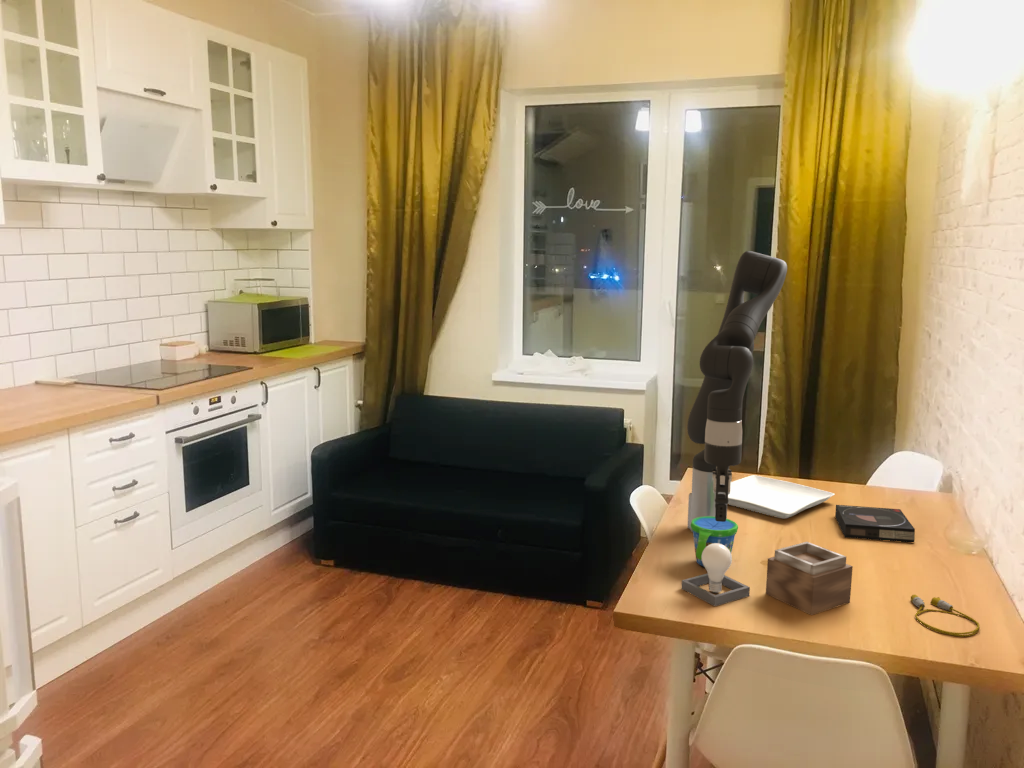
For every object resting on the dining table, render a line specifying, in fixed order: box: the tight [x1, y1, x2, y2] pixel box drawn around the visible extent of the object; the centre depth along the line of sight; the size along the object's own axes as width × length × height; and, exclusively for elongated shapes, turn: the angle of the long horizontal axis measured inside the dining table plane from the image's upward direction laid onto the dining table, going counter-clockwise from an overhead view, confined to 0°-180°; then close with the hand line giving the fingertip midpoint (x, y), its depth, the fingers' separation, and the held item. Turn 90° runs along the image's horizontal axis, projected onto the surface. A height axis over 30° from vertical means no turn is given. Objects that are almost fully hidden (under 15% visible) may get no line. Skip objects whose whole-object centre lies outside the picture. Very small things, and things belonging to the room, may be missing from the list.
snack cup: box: [691, 516, 739, 568], centre depth 190 cm, size 16×10×10 cm
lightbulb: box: [701, 543, 733, 594], centre depth 174 cm, size 6×6×11 cm
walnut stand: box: [765, 541, 853, 616], centre depth 172 cm, size 12×12×10 cm
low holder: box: [680, 573, 751, 607], centre depth 175 cm, size 10×10×2 cm
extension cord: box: [910, 594, 980, 638], centre depth 163 cm, size 12×16×2 cm
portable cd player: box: [834, 504, 916, 543], centre depth 214 cm, size 16×17×4 cm
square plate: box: [727, 474, 835, 520], centre depth 237 cm, size 27×27×4 cm
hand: (720, 514), depth 172 cm, fingers open, 8 cm apart
